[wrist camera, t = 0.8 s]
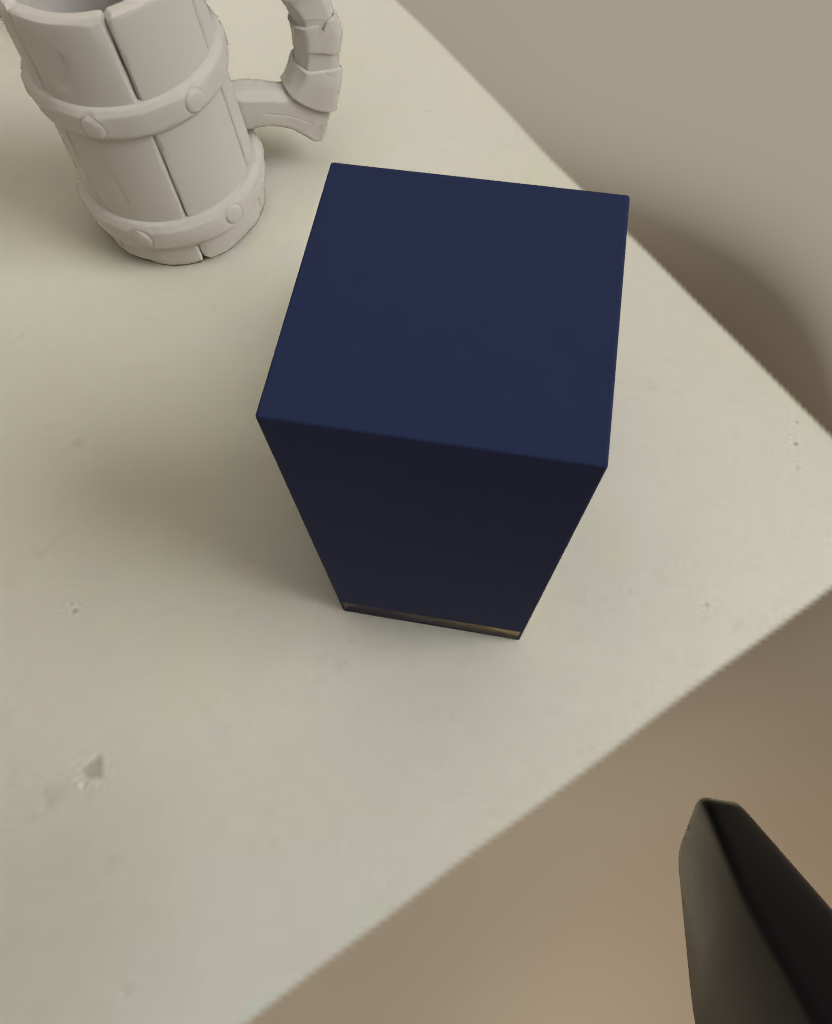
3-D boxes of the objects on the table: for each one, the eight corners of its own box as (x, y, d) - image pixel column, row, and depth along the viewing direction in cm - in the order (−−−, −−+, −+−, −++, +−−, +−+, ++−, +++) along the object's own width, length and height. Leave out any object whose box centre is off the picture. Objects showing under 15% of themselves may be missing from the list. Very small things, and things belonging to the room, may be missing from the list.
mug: (79, 172, 32) (-106, -161, 21) (323, 94, 34) (270, -254, 23) (122, 296, 29) (-64, -12, 18) (385, 204, 31) (359, -130, 20)
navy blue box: (519, 640, 24) (608, 467, 12) (343, 610, 24) (254, 416, 12) (558, 322, 28) (648, -31, 16) (410, 303, 29) (394, -52, 17)
